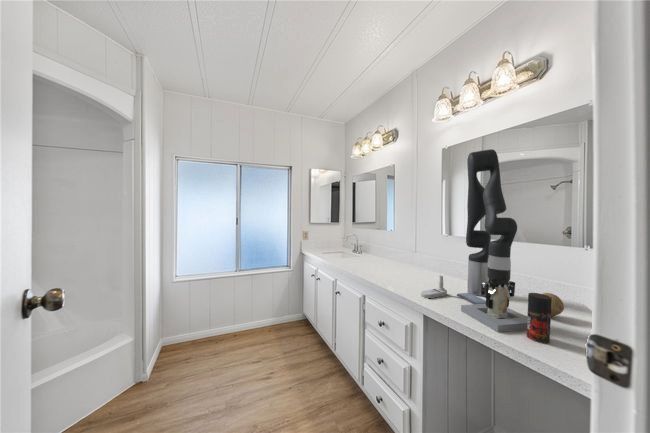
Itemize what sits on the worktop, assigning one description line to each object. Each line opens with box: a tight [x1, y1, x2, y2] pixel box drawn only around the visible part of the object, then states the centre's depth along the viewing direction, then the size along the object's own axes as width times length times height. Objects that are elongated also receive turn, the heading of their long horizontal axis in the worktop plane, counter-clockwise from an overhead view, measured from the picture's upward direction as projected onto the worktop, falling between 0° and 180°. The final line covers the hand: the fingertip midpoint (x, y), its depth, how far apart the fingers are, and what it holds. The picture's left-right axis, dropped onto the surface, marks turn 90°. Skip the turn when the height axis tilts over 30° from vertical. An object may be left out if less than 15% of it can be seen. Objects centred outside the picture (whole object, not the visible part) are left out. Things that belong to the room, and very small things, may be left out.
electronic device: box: [420, 275, 448, 299], centre depth 123 cm, size 5×10×15 cm
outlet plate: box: [460, 303, 527, 333], centre depth 97 cm, size 18×18×2 cm
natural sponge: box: [542, 292, 565, 318], centre depth 99 cm, size 9×9×10 cm
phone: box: [456, 292, 486, 304], centre depth 117 cm, size 7×13×1 cm, turn 10°
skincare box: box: [486, 286, 508, 319], centre depth 97 cm, size 6×4×12 cm
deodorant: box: [526, 292, 552, 345], centre depth 83 cm, size 6×6×15 cm
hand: (497, 307), depth 97 cm, fingers closed on skincare box, 7 cm apart
